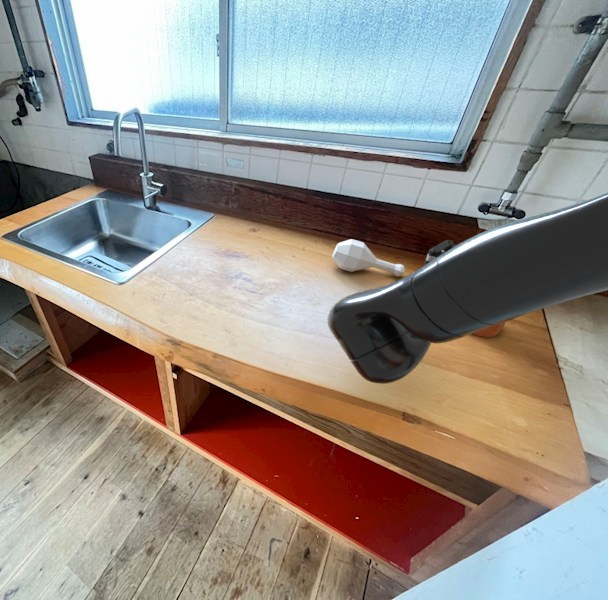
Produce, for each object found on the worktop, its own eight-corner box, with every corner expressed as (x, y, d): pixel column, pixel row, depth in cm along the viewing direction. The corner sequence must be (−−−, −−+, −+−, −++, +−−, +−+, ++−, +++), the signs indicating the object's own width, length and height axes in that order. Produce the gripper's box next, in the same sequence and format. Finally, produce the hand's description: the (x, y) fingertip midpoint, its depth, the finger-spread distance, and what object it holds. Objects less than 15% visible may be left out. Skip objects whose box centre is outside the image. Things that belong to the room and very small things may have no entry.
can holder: (503, 324, 69) (512, 312, 67) (492, 342, 65) (501, 329, 63) (461, 308, 74) (467, 295, 72) (448, 323, 70) (455, 311, 68)
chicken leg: (400, 289, 82) (416, 258, 79) (331, 266, 85) (343, 236, 83) (391, 283, 90) (405, 255, 87) (328, 263, 93) (339, 235, 90)
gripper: (529, 291, 36) (585, 251, 43) (409, 244, 46) (468, 217, 53) (497, 339, 41) (551, 296, 47) (393, 287, 51) (450, 258, 57)
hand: (508, 255), depth 50 cm, fingers open, 8 cm apart
